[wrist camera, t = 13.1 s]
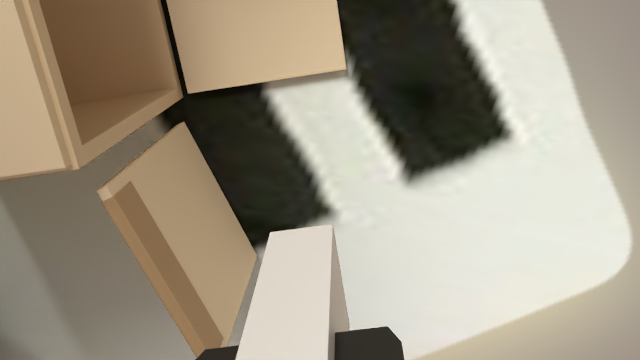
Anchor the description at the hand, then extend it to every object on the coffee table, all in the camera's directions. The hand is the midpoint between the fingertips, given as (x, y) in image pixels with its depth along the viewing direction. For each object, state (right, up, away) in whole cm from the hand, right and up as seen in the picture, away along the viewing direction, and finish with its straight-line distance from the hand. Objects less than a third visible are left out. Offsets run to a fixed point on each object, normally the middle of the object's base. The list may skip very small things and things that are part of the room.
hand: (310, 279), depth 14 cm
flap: (-5, +2, +16) cm, 17 cm away
